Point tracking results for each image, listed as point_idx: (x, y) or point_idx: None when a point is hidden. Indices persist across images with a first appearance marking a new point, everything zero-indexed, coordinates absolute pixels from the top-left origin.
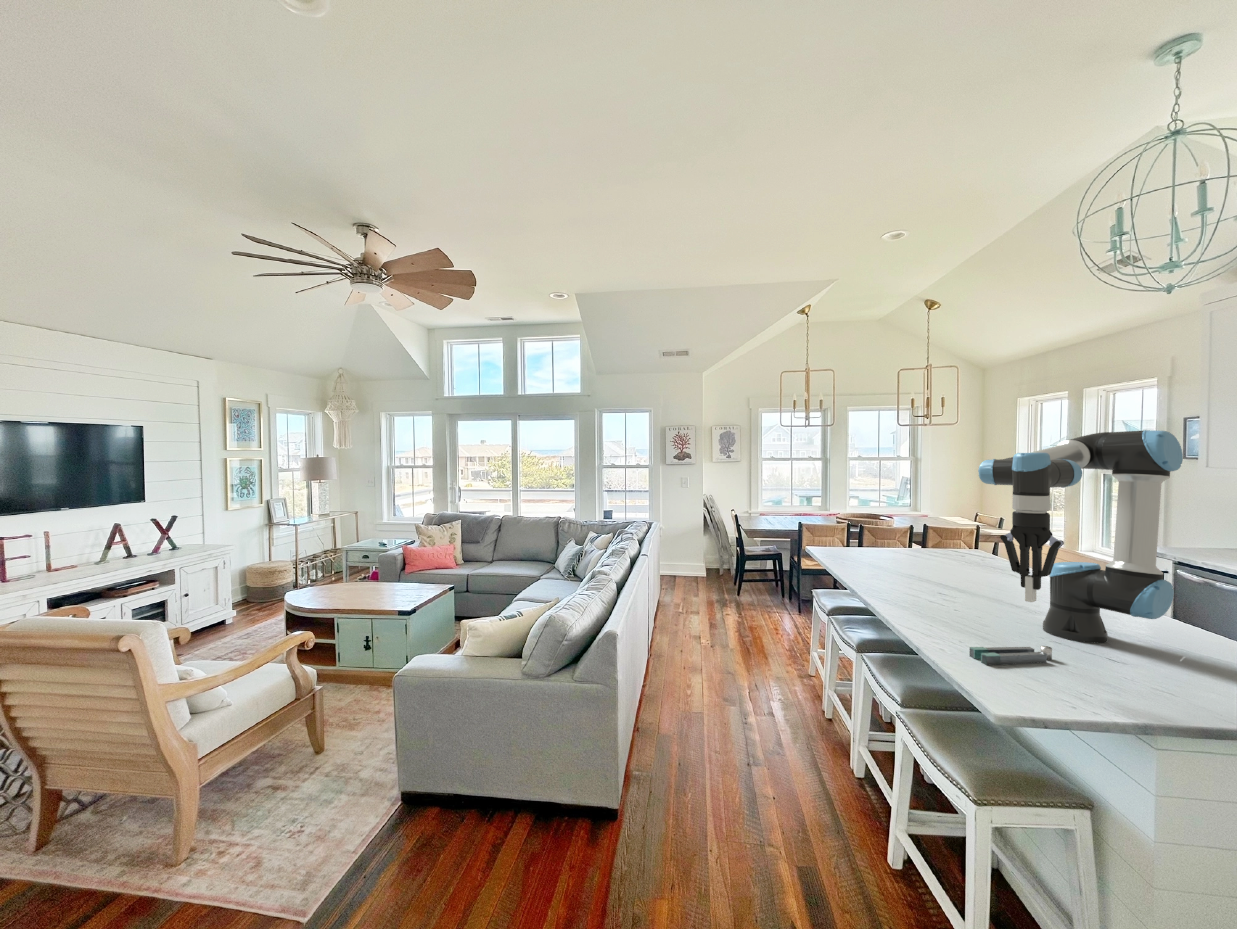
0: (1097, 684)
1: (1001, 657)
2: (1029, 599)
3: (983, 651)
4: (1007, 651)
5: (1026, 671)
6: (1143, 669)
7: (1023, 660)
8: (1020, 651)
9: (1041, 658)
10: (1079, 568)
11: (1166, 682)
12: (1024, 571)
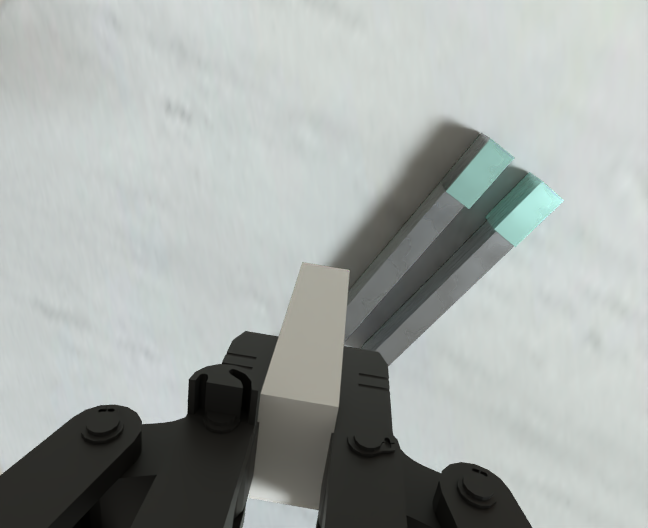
0: (181, 240)
1: (441, 192)
2: (318, 274)
3: (508, 210)
4: (433, 287)
5: (359, 190)
6: None
7: (378, 260)
8: (397, 323)
9: None
10: None
11: (78, 392)
12: (345, 466)
